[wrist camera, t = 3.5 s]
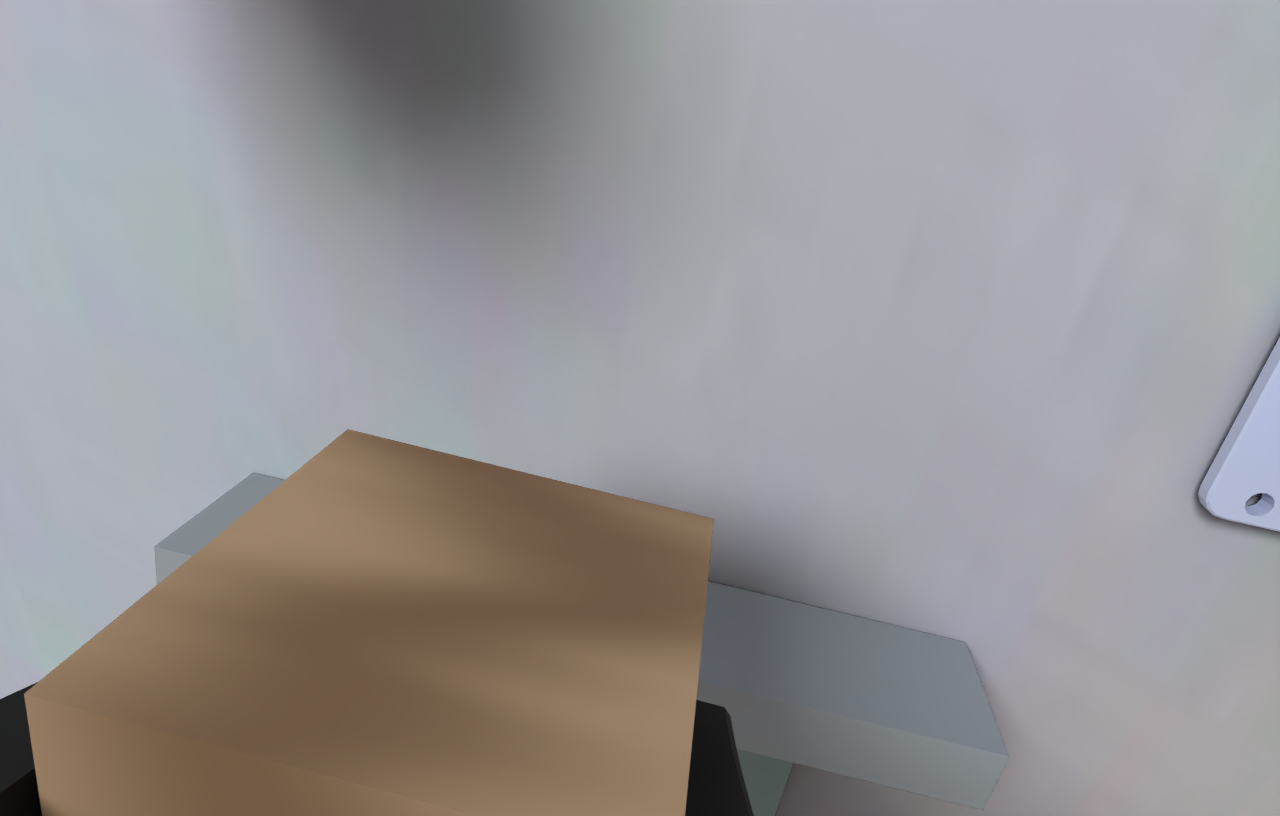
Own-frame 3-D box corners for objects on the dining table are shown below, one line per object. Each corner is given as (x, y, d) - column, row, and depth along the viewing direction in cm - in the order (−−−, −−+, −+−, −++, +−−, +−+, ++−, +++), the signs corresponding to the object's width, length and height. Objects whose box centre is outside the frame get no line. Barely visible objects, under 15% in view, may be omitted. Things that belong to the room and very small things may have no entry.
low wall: (965, 642, 19) (1009, 757, 15) (944, 690, 19) (982, 810, 16) (252, 472, 20) (154, 546, 16) (253, 523, 20) (158, 604, 17)
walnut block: (713, 518, 10) (679, 871, 6) (638, 791, 12) (568, 1218, 7) (347, 429, 10) (23, 694, 6) (332, 710, 12) (80, 1075, 8)
